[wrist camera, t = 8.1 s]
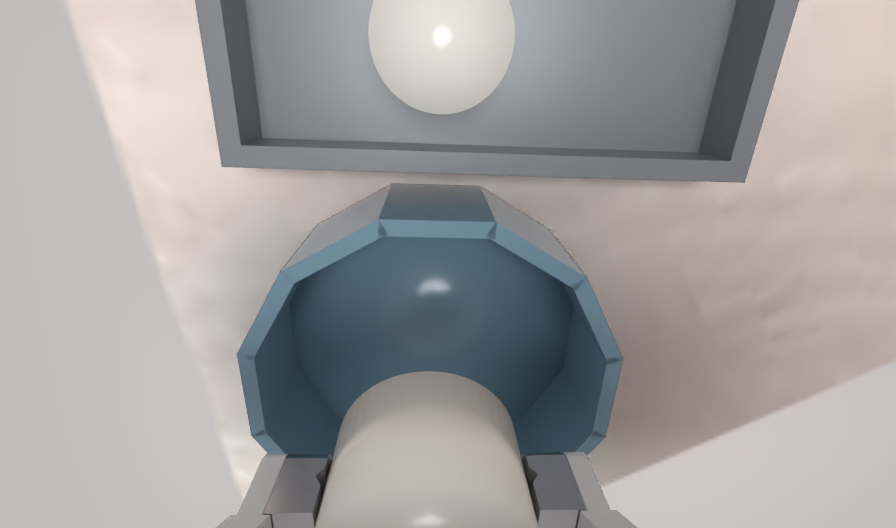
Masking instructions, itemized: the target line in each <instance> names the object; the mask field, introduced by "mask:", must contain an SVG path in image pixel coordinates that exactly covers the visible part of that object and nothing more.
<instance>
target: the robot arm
mask: <svg viewBox="0 0 896 528" xmlns="http://www.w3.org/2000/svg"><path fill="white" fill-rule="evenodd" d="M521 459H522V463H523V467H524V471H525V475H526V479H527V483H528V487H529V491H530V495H531V499H532V503H533V507H534V511H535V515H536V519H537V523H538V527H539V528H637V527H636V526H635V525H633V524H632V523H631V522H630V521H629V520H627V519H626V518H625V517H624V516H623V515H622V514H620V513H619V512H618V511H617V510H616V511H615V510H610V508H609V506H608V504H607V501H606V499H605V496H604V494H603V492H602V489H601V487H600V485H599V483H598V480H597V478H596V476H595V473H594V471H593V469H592V466H591V464H590V462H589V460H588V457H587V455H586V454H585V453H584V452H563V453H562V452H540V453H523V454H522V456H521ZM331 462H332V456H331V455H330V454H268V453H267V454H266V455H265V456H264V458H263V459H262V461H261V463H260V465H259V467H258V470H257V472H256V474H255V476H254V478H253V481H252V483H251V485H250V487H249V490H248V492H247V494H246V496H245V499H244V501H243V503H242V506H241V508H240V510H239V512H238V514H237V515H230V516H229V517H228V518H227V519H226V520H224V521H223V522H222V523H221V524H220V525H218V526H217V527H216V528H315V525H316V521H317V517H318V513H319V509H320V505H321V501H322V497H323V493H324V490H325V486H326V482H327V478H328V474H329V470H330V466H331Z"/></svg>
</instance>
